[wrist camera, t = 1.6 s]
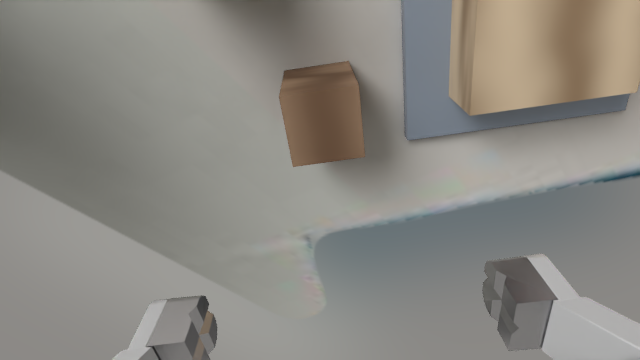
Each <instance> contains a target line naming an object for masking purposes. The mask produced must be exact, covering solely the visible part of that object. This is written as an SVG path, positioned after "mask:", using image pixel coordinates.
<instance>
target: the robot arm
mask: <svg viewBox="0 0 640 360" xmlns="http://www.w3.org/2000/svg"><path fill="white" fill-rule="evenodd" d="M484 272H485V274H486V275H487V277H488V278H487V279H486V280H485V281H484V282H483V290H482V291H483V297H484V302H485V305H486V308H487V310H488V312H489V314H490V316H491V317H493V318H494V319H496V320H497V321H499V322H498V332H499V334H500V335H501V337H502V339H503V341H504V343H505V345H506V347H507V349H508V351H514V350H527V349H540V348H542V351H543V352H545V353H546V354H547V355H548V356H550V357H551V358H552V359H554V360H640V324H639V323H637V322H635V321H633V320H631V319H629V318H626V317H625V316H623V315H621V314H619V313H617V312H615V311H613V310H611V309H609V308H607V307H605V306H603V305H601V304H599V303H597V302H596V301H594V300H592V299H590V298H588V297H580V296H579V295H578V294H577V292H576V291H575V290H574V289H573V288H572V286H571V285H570V284H569V283H568V282H567V280H566V279H565V278H564V277H563V276H562V274H561V273H560V272H559V271H558V270H557V268H556V267H555V266H554V265H553V264H552V262H551V261H550V260H549V259H548V258H547V256H546V255H544V254H535V255H527V256H523V257H521V256H520V257H512V258H504V259H497V260H489V261H487V262H486V264H485V270H484ZM208 306H209V303H208V301H207V299H206V296H192V297H181V298H171V299H164V300H154V301H152V302H151V303H150V304H149V306H148V308H147V310H146V312H145V314H144V316H143V318H142V320H141V322H140V324H139V326H138V328H137V330H136V332H135V334H134V337H133V339H132V341H131V343H130V345H129V347H128V349H127V350H122V351H121V352H119V353H118V354H117V355H116V356H115V357H114V358H113V359H111V360H210V358H209V356H208V354H209V353H210V352H211V351H212V350H213V348H214V347H215V344H216V340H217V324H216V320H215V317H214V315H213V314H212V313H210V312H209V311H207V310H208Z"/></svg>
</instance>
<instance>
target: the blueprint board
mask: <svg viewBox="0 0 640 360" xmlns="http://www.w3.org/2000/svg"><path fill="white" fill-rule="evenodd" d="M401 10H402V47H403V85H404V122H405V137H406V139H407V140H414V139H421V138H428V137H435V136H442V135H450V134H457V133H464V132H471V131H478V130H486V129H493V128H500V127H507V126H514V125H522V124H529V123H536V122H543V121H550V120H558V119H565V118H572V117H579V116H586V115H594V114H601V113H608V112H615V111H622V110H625V109H626V105H627V102H628V98H629V95H630V93H629V94H621V95H614V96H607V97H600V98H593V99H586V100H579V101H572V102H565V103H558V104H550V105H543V106H536V107H529V108H522V109H515V110H508V111H501V112H494V113H487V114H479V115H472V116H470V115H469V114H467V113H466V112H465V111H464V110H463V109H462V108H461V107H460V106H459V105H458V104H457V103H456V102H454V101H453V100H452V99H451V98H450V97H449V72H450V44H451V15H452V0H401Z"/></svg>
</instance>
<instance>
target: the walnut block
mask: <svg viewBox="0 0 640 360" xmlns="http://www.w3.org/2000/svg"><path fill="white" fill-rule="evenodd" d="M279 99H280V104H281V109H282V114H283V119H284V124H285V129H286V134H287V139H288V144H289V149H290V154H291V159H292V164H293V167H296V166H303V165H310V164H317V163H325V162H332V161H339V160H346V159H354V158H361V157H365V150H364V138H363V127H362V116H361V104H360V93H359V84H358V82H357V80H356V77H355V75H354V73H353V70H352V68H351V66H350V63H349V61H346V62H339V63H332V64H326V65H319V66H312V67H306V68H299V69H292V70H286V71H284V76H283V81H282V85H281V90H280V94H279Z"/></svg>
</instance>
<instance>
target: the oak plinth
mask: <svg viewBox="0 0 640 360" xmlns="http://www.w3.org/2000/svg"><path fill="white" fill-rule="evenodd" d="M639 82H640V0H452V15H451V44H450V72H449V97H450V98H451V99H452V100H453V101H454V102H456V103H457V104H458V105H459V106H460V107H461V108H462V109H463V110H464V111H465V112H466V113H467V114H469V115H470V116H472V115H479V114H487V113H494V112H501V111H508V110H515V109H522V108H529V107H536V106H543V105H550V104H558V103H565V102H572V101H579V100H586V99H593V98H600V97H607V96H614V95H621V94H629V93H636V92H637V89H638V86H639Z"/></svg>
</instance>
